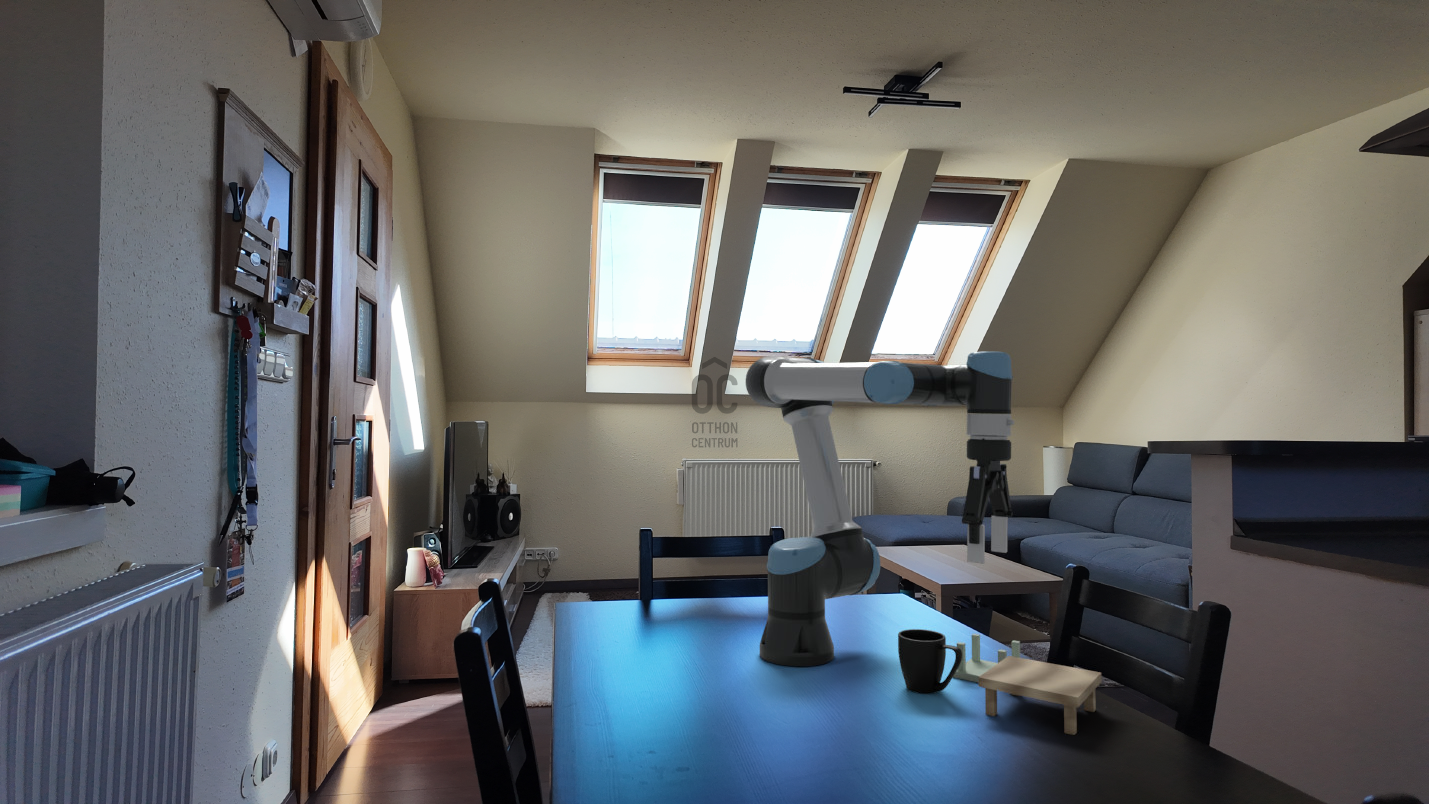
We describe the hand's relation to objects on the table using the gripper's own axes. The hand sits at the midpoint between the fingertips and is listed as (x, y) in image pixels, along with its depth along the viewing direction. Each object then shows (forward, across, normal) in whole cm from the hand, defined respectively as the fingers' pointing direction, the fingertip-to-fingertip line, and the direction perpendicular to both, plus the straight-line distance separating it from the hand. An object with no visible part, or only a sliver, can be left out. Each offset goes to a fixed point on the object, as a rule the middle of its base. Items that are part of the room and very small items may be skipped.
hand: (987, 557), depth 136 cm
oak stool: (+23, -6, -10) cm, 26 cm away
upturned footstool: (+24, +8, +2) cm, 25 cm away
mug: (+24, -7, +8) cm, 26 cm away
